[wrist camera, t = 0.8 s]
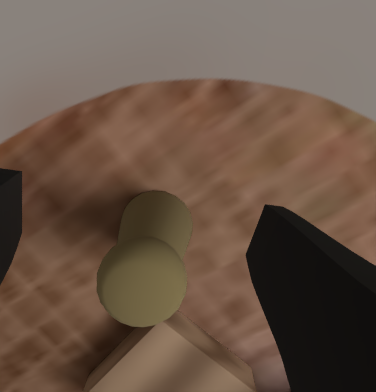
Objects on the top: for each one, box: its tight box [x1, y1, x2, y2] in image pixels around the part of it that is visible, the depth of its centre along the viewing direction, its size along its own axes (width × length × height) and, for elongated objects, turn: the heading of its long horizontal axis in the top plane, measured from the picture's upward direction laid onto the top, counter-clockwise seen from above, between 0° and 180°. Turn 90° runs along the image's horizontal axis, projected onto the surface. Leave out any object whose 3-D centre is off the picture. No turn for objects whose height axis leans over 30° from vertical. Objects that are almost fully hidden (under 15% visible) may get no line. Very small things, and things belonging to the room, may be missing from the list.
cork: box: [97, 191, 193, 327], centre depth 23 cm, size 6×6×11 cm
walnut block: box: [83, 310, 257, 392], centre depth 31 cm, size 11×11×3 cm
